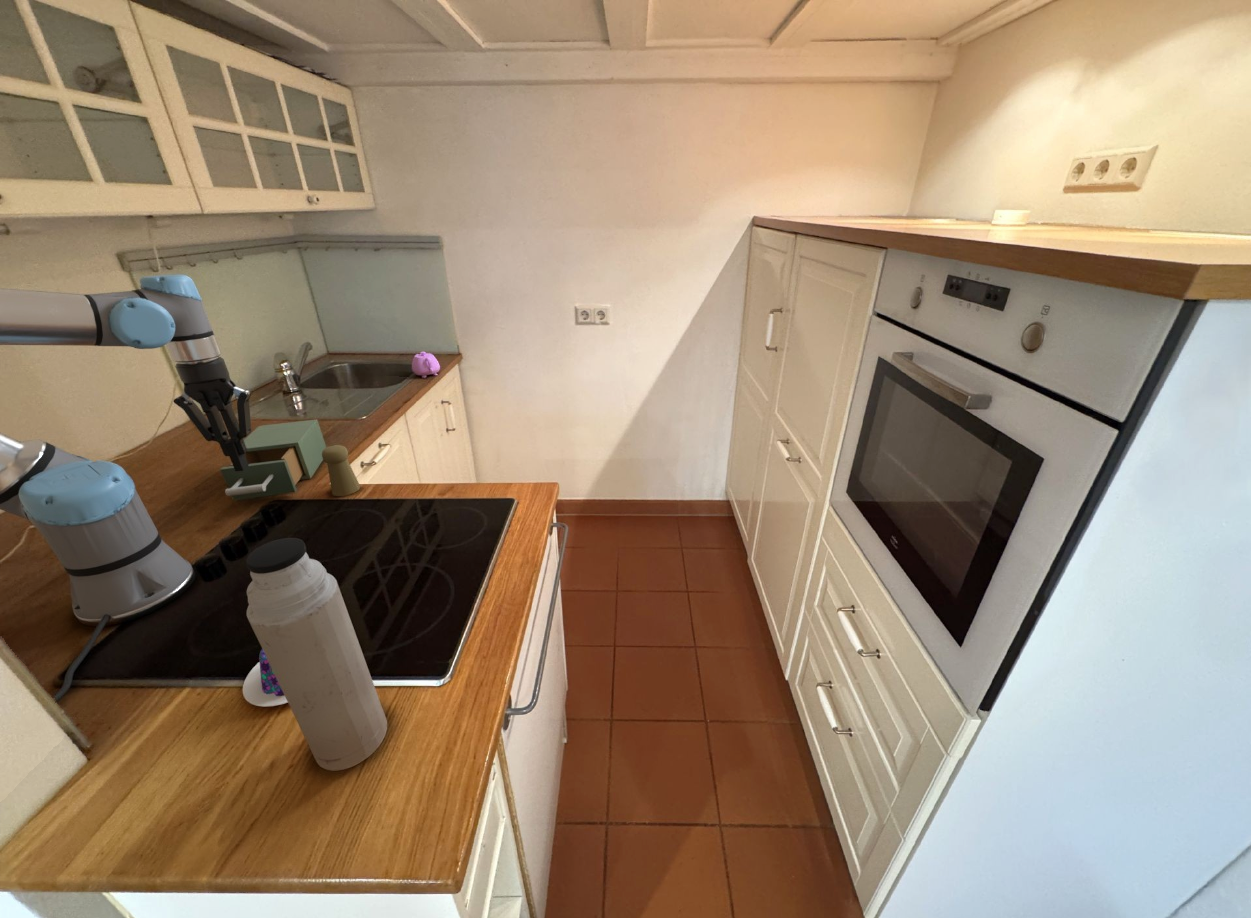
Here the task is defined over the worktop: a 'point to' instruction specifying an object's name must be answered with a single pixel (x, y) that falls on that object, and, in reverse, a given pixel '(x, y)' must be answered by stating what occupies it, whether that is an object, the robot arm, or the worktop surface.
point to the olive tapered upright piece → (340, 471)
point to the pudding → (263, 685)
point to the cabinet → (291, 442)
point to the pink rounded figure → (425, 364)
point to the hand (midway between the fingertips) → (242, 468)
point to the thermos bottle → (314, 653)
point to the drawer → (264, 474)
